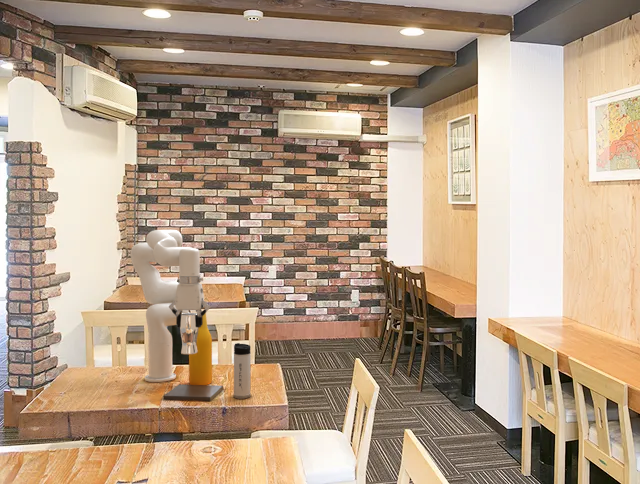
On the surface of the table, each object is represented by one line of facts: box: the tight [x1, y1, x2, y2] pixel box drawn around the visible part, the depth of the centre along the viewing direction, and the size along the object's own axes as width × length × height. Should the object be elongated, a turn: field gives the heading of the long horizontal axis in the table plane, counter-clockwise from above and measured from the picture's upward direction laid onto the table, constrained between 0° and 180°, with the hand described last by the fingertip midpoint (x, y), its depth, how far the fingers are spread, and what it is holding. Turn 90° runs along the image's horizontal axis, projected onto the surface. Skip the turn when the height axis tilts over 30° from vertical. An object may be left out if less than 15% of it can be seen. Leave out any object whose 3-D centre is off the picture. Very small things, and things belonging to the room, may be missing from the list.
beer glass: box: [179, 312, 199, 355], centre depth 245 cm, size 7×7×15 cm
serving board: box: [162, 383, 224, 402], centre depth 246 cm, size 16×18×2 cm
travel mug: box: [233, 342, 252, 400], centre depth 243 cm, size 6×7×20 cm
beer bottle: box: [188, 312, 213, 385], centre depth 261 cm, size 9×9×29 cm
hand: (189, 326), depth 245 cm, fingers closed on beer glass, 7 cm apart
